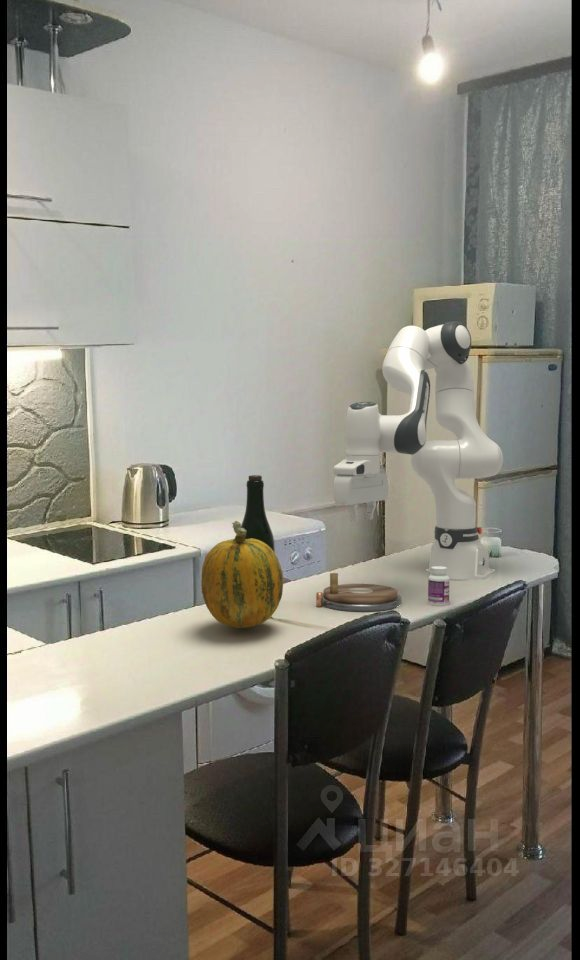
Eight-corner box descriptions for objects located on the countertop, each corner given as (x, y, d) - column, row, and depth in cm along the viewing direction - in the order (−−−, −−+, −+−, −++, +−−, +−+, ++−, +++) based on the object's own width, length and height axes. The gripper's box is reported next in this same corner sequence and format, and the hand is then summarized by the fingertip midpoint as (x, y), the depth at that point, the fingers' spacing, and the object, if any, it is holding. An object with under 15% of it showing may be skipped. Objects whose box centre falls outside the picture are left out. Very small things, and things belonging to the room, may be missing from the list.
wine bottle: (255, 611, 229) (255, 477, 226) (226, 604, 236) (225, 475, 233) (284, 604, 237) (284, 475, 234) (255, 598, 244) (254, 473, 241)
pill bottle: (449, 607, 233) (449, 569, 232) (427, 606, 234) (428, 568, 233) (449, 603, 238) (449, 565, 237) (428, 602, 239) (428, 565, 238)
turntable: (311, 592, 243) (311, 568, 243) (375, 587, 250) (376, 563, 250) (343, 607, 226) (343, 580, 225) (411, 600, 233) (411, 575, 232)
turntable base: (349, 591, 253) (349, 578, 253) (416, 601, 240) (416, 587, 240) (302, 604, 236) (302, 590, 236) (372, 616, 223) (372, 601, 223)
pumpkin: (226, 638, 202) (225, 524, 200) (187, 621, 218) (186, 515, 216) (298, 627, 212) (298, 518, 210) (256, 611, 228) (256, 510, 226)
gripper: (374, 463, 245) (373, 515, 246) (329, 467, 229) (329, 523, 230) (394, 464, 242) (394, 517, 243) (350, 468, 225) (350, 525, 227)
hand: (362, 520), depth 236 cm, fingers open, 5 cm apart
